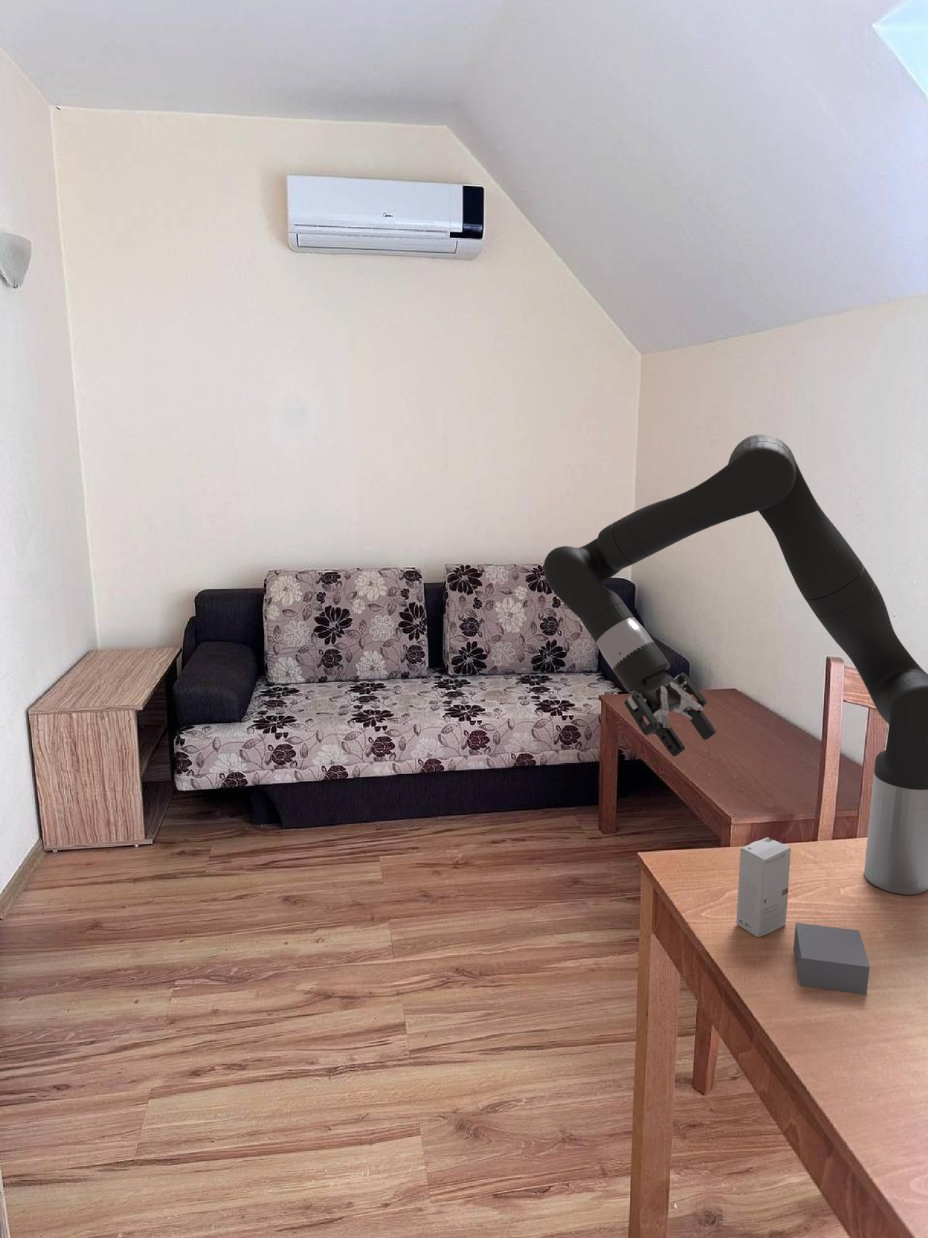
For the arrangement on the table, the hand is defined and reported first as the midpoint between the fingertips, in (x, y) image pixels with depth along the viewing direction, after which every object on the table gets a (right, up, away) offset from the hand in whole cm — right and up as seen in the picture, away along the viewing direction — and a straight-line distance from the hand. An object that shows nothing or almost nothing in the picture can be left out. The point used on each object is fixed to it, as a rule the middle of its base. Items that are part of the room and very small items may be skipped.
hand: (695, 744), depth 129 cm
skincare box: (+9, -26, -2) cm, 27 cm away
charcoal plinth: (+14, -28, -12) cm, 34 cm away
